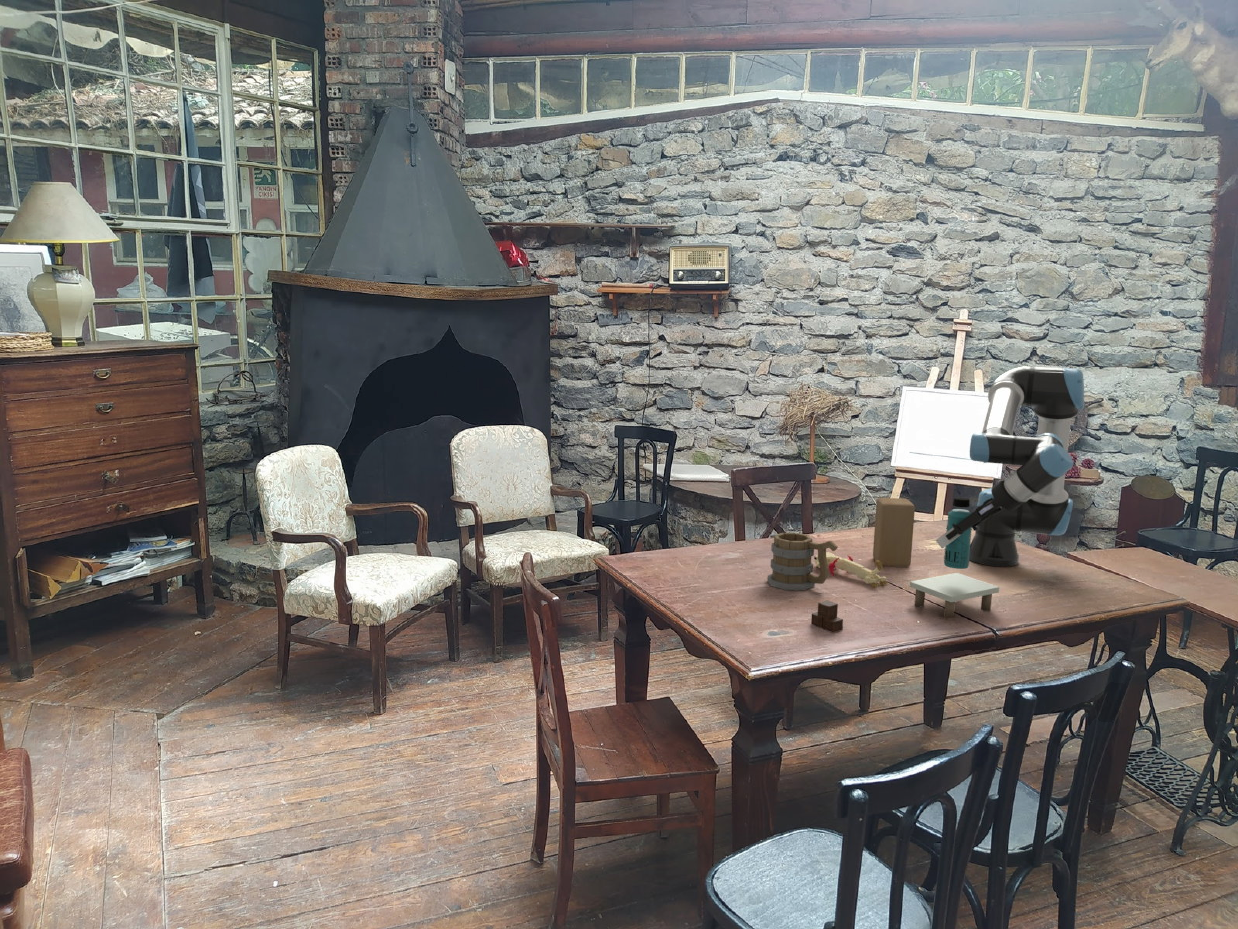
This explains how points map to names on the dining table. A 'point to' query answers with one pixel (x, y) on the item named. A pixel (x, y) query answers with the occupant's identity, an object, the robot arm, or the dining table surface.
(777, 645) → the dining table surface
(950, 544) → the beverage bottle
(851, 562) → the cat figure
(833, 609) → the stack of crates
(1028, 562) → the dining table surface
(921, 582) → the peg shelf
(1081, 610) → the dining table surface
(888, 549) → the wooden block
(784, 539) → the tankard
